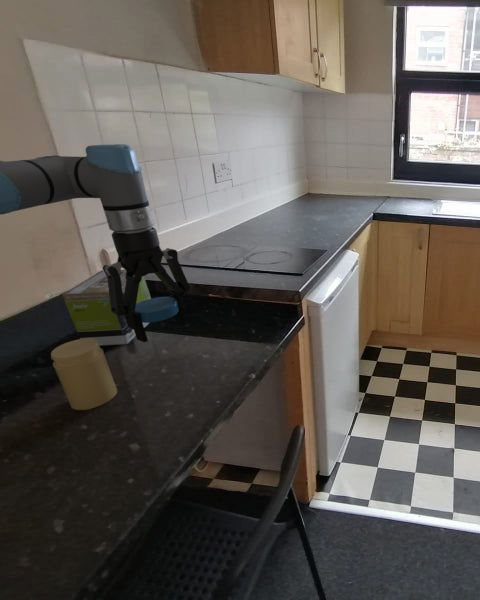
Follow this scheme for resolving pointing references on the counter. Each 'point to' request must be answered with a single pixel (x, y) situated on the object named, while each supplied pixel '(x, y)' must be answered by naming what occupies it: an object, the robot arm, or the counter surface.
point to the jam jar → (84, 373)
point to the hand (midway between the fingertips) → (162, 331)
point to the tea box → (101, 310)
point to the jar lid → (157, 309)
